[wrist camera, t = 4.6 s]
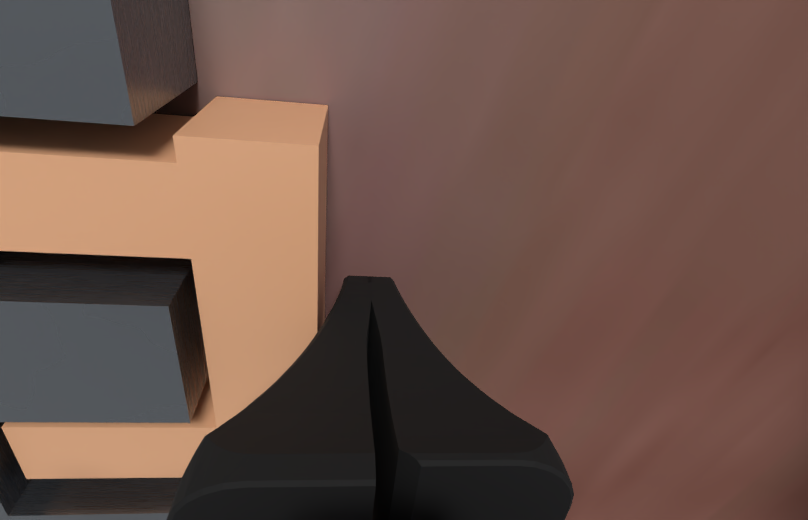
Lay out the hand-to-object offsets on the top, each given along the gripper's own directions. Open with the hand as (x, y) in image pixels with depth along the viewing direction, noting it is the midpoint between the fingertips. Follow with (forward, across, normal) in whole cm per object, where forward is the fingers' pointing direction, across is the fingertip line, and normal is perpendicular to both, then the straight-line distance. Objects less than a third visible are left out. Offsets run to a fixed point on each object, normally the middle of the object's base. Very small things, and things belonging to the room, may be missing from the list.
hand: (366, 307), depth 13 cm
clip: (+1, +5, 0) cm, 5 cm away
